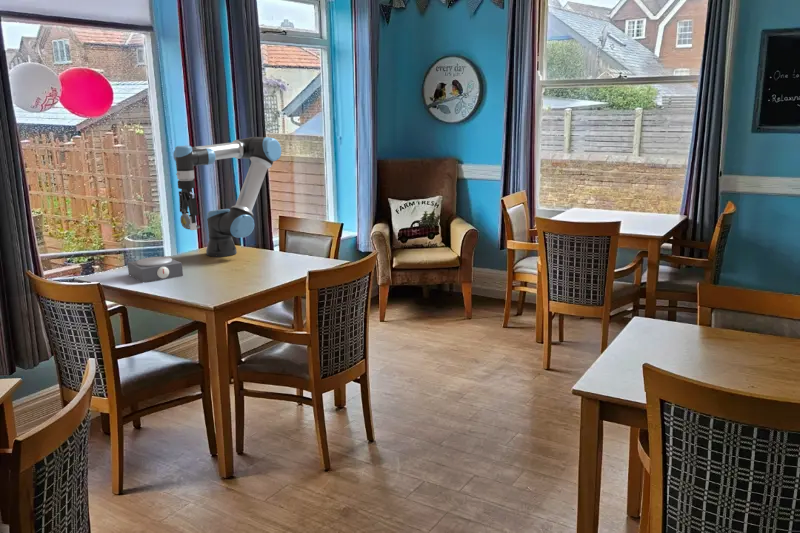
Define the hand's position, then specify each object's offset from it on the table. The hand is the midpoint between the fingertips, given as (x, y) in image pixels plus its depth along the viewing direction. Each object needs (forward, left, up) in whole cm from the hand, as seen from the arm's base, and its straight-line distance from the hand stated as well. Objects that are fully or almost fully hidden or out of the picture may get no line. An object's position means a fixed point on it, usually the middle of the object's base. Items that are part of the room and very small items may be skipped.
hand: (190, 228), depth 316 cm
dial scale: (+3, -19, -19) cm, 27 cm away
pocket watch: (0, 0, 0) cm, 1 cm away
